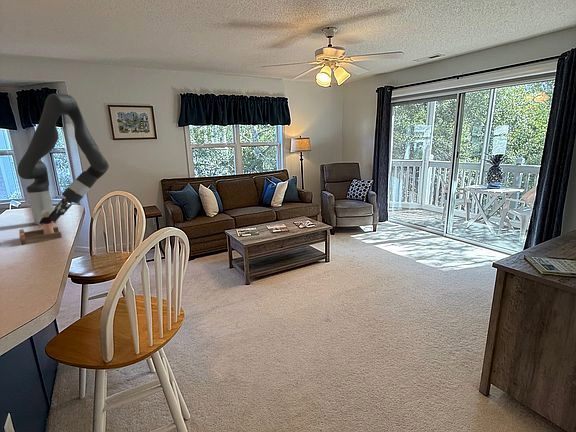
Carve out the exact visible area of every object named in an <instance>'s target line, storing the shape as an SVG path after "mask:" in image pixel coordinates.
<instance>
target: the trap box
mask: <svg viewBox="0 0 576 432" xmlns="http://www.w3.org/2000/svg"><path fill="white" fill-rule="evenodd" d="M52 227H53V226H52ZM18 230H19V233H18V235H19V240H20V244H21V245H22V246H24V245H29V244H34V243H40V242H45V241H51V240H56V239H61V238H62V237H63V236H62V233H61V231H59V227H58V226H56V227H55V226H54V227H53V231H54V233H50V234H44V228H41V229H36V230H30V231H25V230H24V229H23V228H22V229H18Z"/></svg>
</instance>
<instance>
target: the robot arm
mask: <svg viewBox="0 0 576 432" xmlns="http://www.w3.org/2000/svg"><path fill="white" fill-rule="evenodd" d="M42 109H43V110H42V113H41V115H40V119H39V121H38V124H37V127H36V129H35V131H34V133H33V136H32V137H31V141H30V143H29V146H28V147H27V150H26V151H25V153H24V154H23V156H22V158H21V159H20V160H19V163H18V164H17V165H18V166H17V170H16V171H17V174H18V176H19V177H20V178H21V179H23V180H34V181H33V183H31V184H29V185H28V186H26V193H27V196H28V200H29V204H30V210H31V213H32V214H31V215H32V217H33V223H34V225H38V226H39V222H40V221H41V219H42V218H44V217H43V216H42V215H41V211H43V210H48V211H49V212H50V214H49V217H52V218H51V219H50V220H51V222H52V223H54V222H57V221H58V220H59V218H61V217H62V216H64V215H65V213H66V212H67V211H68V210H69V209H70V208H71V207H72V206H73V205H72V203H75V204H76V205H77V204H79V202H81V201H82V199H83V198H84V197H85V195H86V194H88V192H89V190H90V189H91V188H92V187H93V186H94V184H95V183H96V182H97V181H98V180H99V179H101V177H102V176H104V175H105V173H107V171H108V170H109V167H110V166H109V165H110V164H109V163H108V161H107V159H106V158H105V157H104V155H103V153H102V151H100V149H99V146H98V144H97V143H96V141H95V139H94V138H93V135H91V132H90V131H89V129H88V126H87V123H86V122H85V119H84V116H83V114H82V111H81V109H80V107H79V104H78V102H77V101H76V99H75V98H74V97H73V96H72V95H70V94H64V93H51V94H49V95H47V97H46V99H45V101H44V105H43V108H42ZM62 115H63V116H66V115H67V116H68V117H69V118H70V119H71V121H72V123H73V128H74V139H75V141H76V144H77V145H78V147H79V148H80V150H81V152H82V153H83V154H84V156H85V157H86V160H87V161H88V164H89V165H90V166H89V167H87V169H86V170H85V171H82V172H81V173H80V174H79V175H78V176H77V177H76V178H75V179H74V180H72V182H71V183H70V184H68V186H67V187H66V188H65V189H64V191H63V192H62V193H61V196H63V198H62V199H61V200H60V201H59V202H58V203H57V204H56V205H55V206H53V202H52V197H51V192H50V181H49V179H50V178H49V173H48V167H47V165H46V164H45V162H44V161H42V160H41V159H42V158H45V156H47V155H48V154H50V153H51V152H52V151H53V150H54V148H56V147H55V146H56V145H57V143H58V141H59V132H58V128H57V125H56V124H57V121H58V119H59V118H60V117H61V116H62Z"/></svg>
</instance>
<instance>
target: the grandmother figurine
mask: <svg viewBox="0 0 576 432" xmlns="http://www.w3.org/2000/svg"><path fill="white" fill-rule="evenodd" d="M49 214H50V212H49V211H48V210H43V211H41V215H42V216H43V217H44V218H42V219H41V221H40V222H39V225H38V226H37V228H42V227H43V228H42V229H44V234H50V233H54V231H53V223H54V224H57V223H58V222H57V221H56V222H51V220H50V219H51V218H52V217H49ZM42 225H43V226H42Z"/></svg>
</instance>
